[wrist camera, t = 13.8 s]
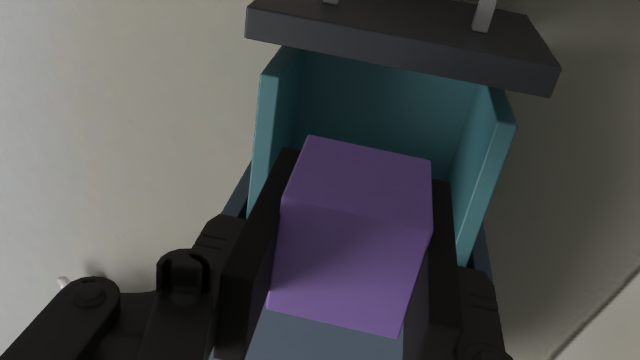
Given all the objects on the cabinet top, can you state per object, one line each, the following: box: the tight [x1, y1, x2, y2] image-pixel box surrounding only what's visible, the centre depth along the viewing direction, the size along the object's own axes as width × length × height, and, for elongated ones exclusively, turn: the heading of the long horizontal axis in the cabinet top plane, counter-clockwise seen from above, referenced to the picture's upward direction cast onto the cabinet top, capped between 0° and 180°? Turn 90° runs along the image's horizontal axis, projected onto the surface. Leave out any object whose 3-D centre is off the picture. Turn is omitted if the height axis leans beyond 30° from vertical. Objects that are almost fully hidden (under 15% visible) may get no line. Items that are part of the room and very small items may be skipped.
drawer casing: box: [208, 160, 493, 360], centre depth 32 cm, size 15×13×10 cm
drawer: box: [244, 0, 562, 267], centre depth 25 cm, size 19×11×8 cm, turn 171°
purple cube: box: [266, 135, 433, 339], centre depth 17 cm, size 4×4×4 cm
